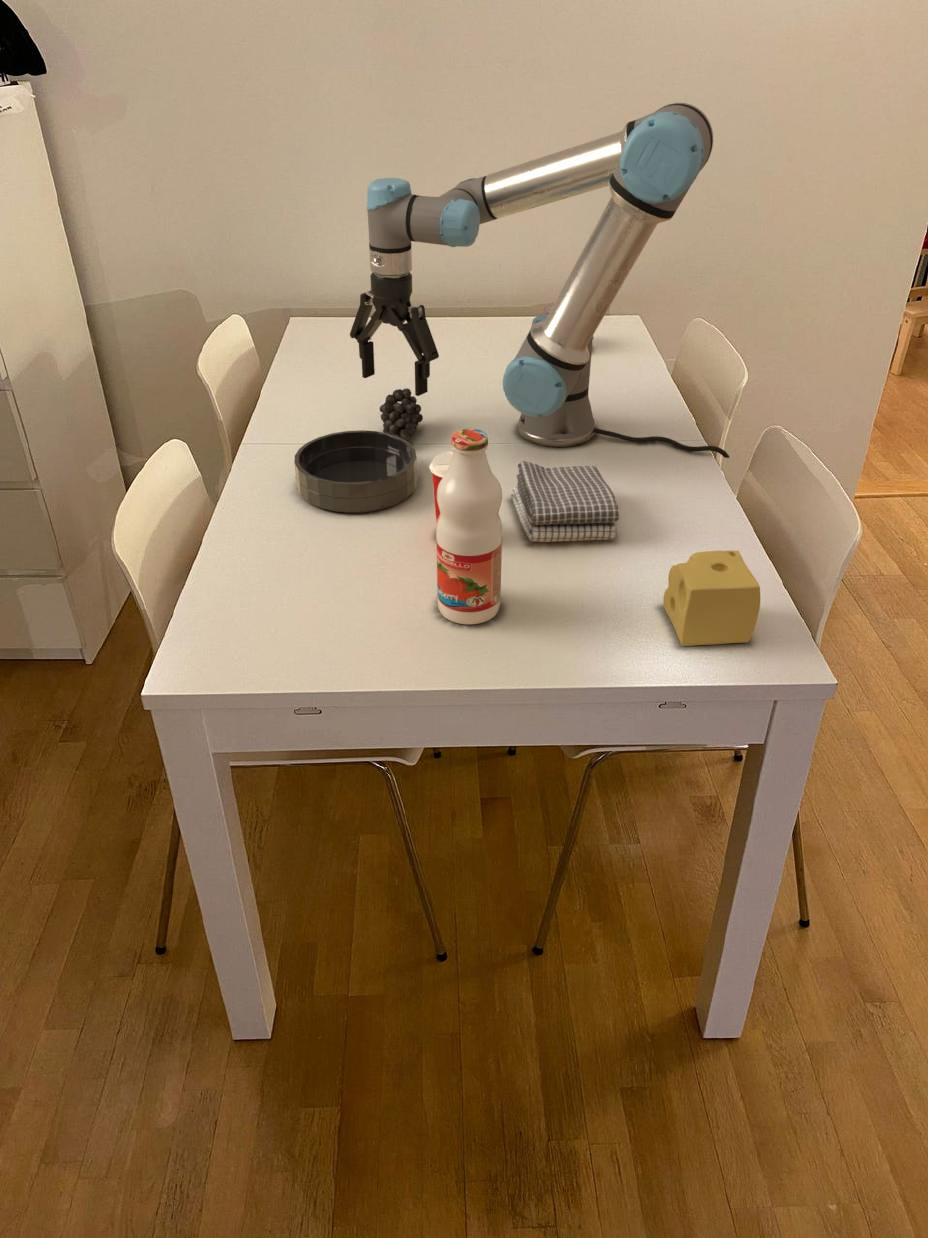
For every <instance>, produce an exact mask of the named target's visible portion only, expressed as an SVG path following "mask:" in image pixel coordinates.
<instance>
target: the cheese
mask: <svg viewBox="0 0 928 1238" xmlns="http://www.w3.org/2000/svg"><path fill="white" fill-rule="evenodd" d="M667 580H668V587H667V588H666V589H665V590H664V593H663V597H662V598H663V609H664V612H665V613H666V614H667V616H668V618H669V620H670V622H671V624H672V626H673V629H674V631H675V633H676V636H677V638H678V641H679V643H680V646H681V647H691V646H707V645H725V644H738V643H739V644H741V643H749V642H750V640H751V638H752V635H753V633H754V631H755V628H756V625H757V621H758V617H759V612H760V607H761V586H760V584H759V582H758V581H757V579H756V577H755V576H754V575H753V573H752V571H751V570H750V569H749V567H748V566H747V564H746V563H745V560H744V558H743V557H742V554H741V553H740V551H739V550H708V551H707V550H706V551H698V552H694V553H692V554H691V555H690V557H688V560H687V561H686V562H681V563H677V564H675V565H672V566H671V567H670V568H669V571H668V578H667Z"/></svg>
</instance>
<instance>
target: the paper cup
mask: <svg viewBox="0 0 928 1238" xmlns="http://www.w3.org/2000/svg"><path fill="white" fill-rule="evenodd" d="M453 453H454V450H453V451H452V450H451V451H450V450H449V451H445V452H440V453H439V454H437V455H435V456H434V458H433V459H432V460H431V463H430V464H429V466H428V468H429V470H430V472H431V474H432V486H433V498H434V509H435V510H434V511H435V521H436V524H437V521H438V518H439V516H440V509H439V506H438V503H437V488H438V485H439V483H440V481H441V480H442V478H443V477H444V475H445V474H446V472H447V470H448V468H449V465H450V462H451V459H452V456H453Z"/></svg>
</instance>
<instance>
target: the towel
mask: <svg viewBox="0 0 928 1238" xmlns="http://www.w3.org/2000/svg"><path fill="white" fill-rule="evenodd" d="M517 468H518V473H517V474H516V479H517V484H516V485H517V486H515V487H513V488H512V492H511V494H510V498H511V502H512V503H513V506H514V508H515V511H516V514H517V517H518V520H519V521H520V524H521V527H522V529H523V530H524V533H525V535H526V538H527V539H528V540H529V542H531V543H533V542H534V543H535V542H537V543H550V542H551V543H555V542H557V543H558V542H559V543H560V542H581V541H583V542H584V541H585V542H586V541H606V540H615V539H616V538H617V535H616V532H617V525H616V523H617V522H618V521H619V520H620V516H619V515H620V513H619V506H618V503H617V500H616V496H615V494H614V492H613V490H612V489H611V487H610V486H609V485H608V484H607V482H606V481H605V480H604V478H603V477H602V474H601V473H600V471H599V470H598V468H597V466H596V465H584V466H582V465H577V466H576V465H573V466H559V467H551V468H550V467H544V466H542V465H541V466H540V465H538V464H537V463H533V462H530V461H529V462H528V461H525V460H521V461H520V462H519V463H518V464H517Z"/></svg>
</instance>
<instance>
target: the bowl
mask: <svg viewBox="0 0 928 1238" xmlns="http://www.w3.org/2000/svg"><path fill="white" fill-rule="evenodd" d="M294 473H295V480H296V482H295V483H296V489H297V492H298V493H299V495H300V497H301V498H302V499H303V500H305V501H306V502H307V503H309V504H311V505H313V506H315V507H317V508H319V509H323V510H327V511H331V512H335V513H336V512H337V513H344V514H345V513H347V514H359V513H369V512H376V511H380V510H384V509H387V508H390V507H393V506H394V505H395V506H396V505H398V504H399V503H400V502H403V501H404V500H406V499H408V498H409V497H410V496H411V495H412V494H413V493H414V492H415V491H416V489H417V485H418V458H417V450H416V448H415V447H414V446H413V445H412V443H411V442H409V441H408V440H407V441H406V440H404V439H403V438H400V437H398V436H395V435H392V434H388V433H383V431H377V430H365V429H364V430H362V429H361V430H358V429H357V430H344V431H339V432H332V433H329V434H324V435H322V436H318V437H317V438H314V439H312V440H309V441H308V442H306V443H305V444H304V445H302V446H301V447H299V448H298V450H297V452H296V453H295V455H294Z"/></svg>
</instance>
